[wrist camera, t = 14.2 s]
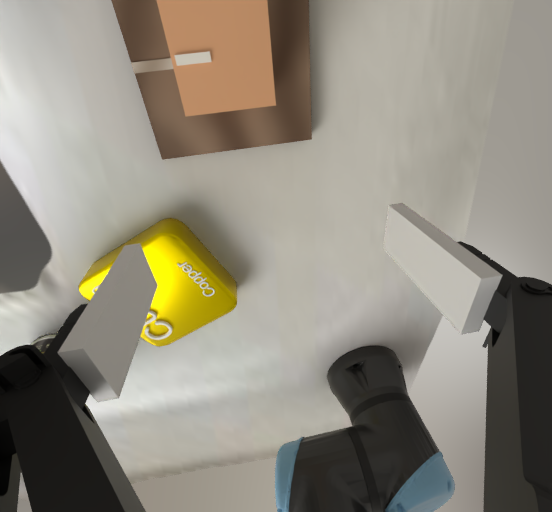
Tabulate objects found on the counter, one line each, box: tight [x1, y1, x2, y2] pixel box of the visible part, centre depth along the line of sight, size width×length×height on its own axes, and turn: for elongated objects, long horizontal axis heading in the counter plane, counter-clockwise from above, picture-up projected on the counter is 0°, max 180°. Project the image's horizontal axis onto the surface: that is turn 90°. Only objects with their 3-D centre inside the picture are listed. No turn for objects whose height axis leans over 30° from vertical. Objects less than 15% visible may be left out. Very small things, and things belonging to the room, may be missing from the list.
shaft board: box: [112, 0, 312, 159], centre depth 24 cm, size 16×16×6 cm
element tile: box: [79, 218, 237, 346], centre depth 38 cm, size 15×15×5 cm
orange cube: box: [157, 0, 276, 117], centre depth 23 cm, size 7×7×7 cm
